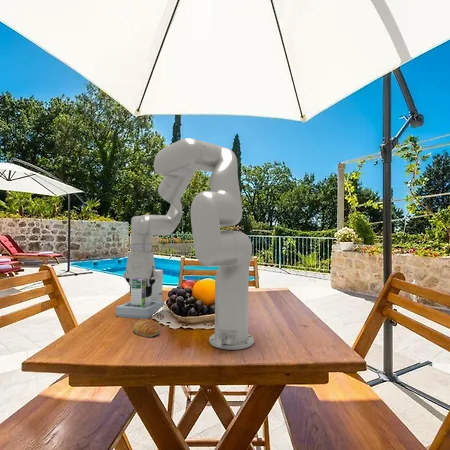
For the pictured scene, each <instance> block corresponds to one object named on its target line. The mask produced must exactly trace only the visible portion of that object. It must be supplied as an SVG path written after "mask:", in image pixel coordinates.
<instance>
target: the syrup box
mask: <svg viewBox="0 0 450 450" xmlns="http://www.w3.org/2000/svg"><path fill="white" fill-rule="evenodd" d="M146 286H147V283H146V279H142V278H131V296H130V301H131V307H142V308H146V307H148V306H150V305H151V296H149V297H146Z"/></svg>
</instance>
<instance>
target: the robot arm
mask: <svg viewBox="0 0 450 450" xmlns="http://www.w3.org/2000/svg"><path fill="white" fill-rule="evenodd" d="M238 167H239V166H238V159H237V156H236V154H235V152H234V151H233V150H232V149H230V148H228V147H225V146H222V145H221V146H220V145H217V144H214V143H211V142H207V141H202V140H198V139H197V138H191V137H188V138H187V137H186V138H185V137H184V138H182V139H179V140H177V141H175V142H174V143H171V144H168V145H167V146H165V147H163V148H162V149H160V151H158V153H157V154H156V156H155V157H154V161H153V169H154V172H155V173H157V174H158V175H159V176H163V178H162V180H161V181H160V184H159V186H158V187H157V193H158V195H159V196H160V197H161V198H162V199H163V200H164V201H166V202H167V203H169V204H170V206H169V209H168V211H167V213H166V214H165V215H162V214H161V215H160V214H143V215H135V216H132V218H131V219H130V220H131V221H130V224H131V225H130V245H128V250H130V251H129V252H128V253H127V259H126V265H125V267H126V268H125V272H124V273H123V274H122V278H123V279H124V280H125V281H126V282H127V284H128V286H129V293H130V295H129V296H130V297H131V278H142V279H146V283H147V286H146V297H149V296H151V294H152V285H153V284H154V283H155V282H156V281H157V280H158V279H159V278H160V276H159V274H158V273H157V272H156V271H155V270H156V267H155V266H156V265H155V257H154V253H153V251H152V236H169V235H172V234H173V233H174V231H175V230H176V229H177V227H178V225H179V223H180V222H181V219H182V216H183V205H182V201H181V199H182V197H183V195H184V193H185V192H186V190H187V188H188V186H189V184H190V182H191V181H192V179H193V177H194V175H195V173H196V171H203V172H209V173H211V175H210V177H209V189H210V190H203V191H201V192H198V193H197V194H196V195H195V196H194V198H193V199H192V201H191V205H190V213H189V214H190V222H191V232H192V242H193V248H194V253H195V256H196V259H197V260H198V262H199V263H200V264H201V265H203V266H205V267H218V268H217V271H216V274H215V280H214V333H213V334H211V335H210V336H209V339H208V342H209V344H210V345H211V346H212V347H215V348H217V349H222V350H230V351H235V350H244V349H248V348H250V347H252V346H253V345H254V343H255V341H254V336H253V335H251V334H250V333H249V285H250V284H249V275H250V266H251V265H250V264H251V259H252V254H253V244H252V241H251V238H250V237H249V236H248V235H247V234H245V233H244V232H242V231H239V230H226V229H225V230H221V227H230V226H231V227H233V226H236V225H238V224H239V223H240V222H241V220H242V218H243V207H242V198H241V191H240V183H239V176H238V175H239V174H238ZM152 277H154V278H153V279H152Z"/></svg>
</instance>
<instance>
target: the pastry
mask: <svg viewBox="0 0 450 450" xmlns="http://www.w3.org/2000/svg"><path fill="white" fill-rule="evenodd" d="M132 329H133V333H135V334H136V335H138V336H139V337H143V336H144V337H145V338H152V337H154V336H155V337H156V336H158V335H159V334H160V331H161V330H160V328H159V326H158V324H157V323H156V321H154V320H151V319H138V321H136V322H135V324H134V326H133V328H132Z"/></svg>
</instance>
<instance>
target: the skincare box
mask: <svg viewBox="0 0 450 450" xmlns="http://www.w3.org/2000/svg"><path fill="white" fill-rule="evenodd" d="M155 271H156V272H157V273H158V274H159V276H160V278H159V279H158V280H157V281H156V282H155V283H154V284H153V285H152V294H151V301H162V302H163V282H164V281H163V280H164V278H163V277H164V275H163V274H164V270H163V269H155ZM153 278H154V277H152V279H153Z"/></svg>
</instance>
